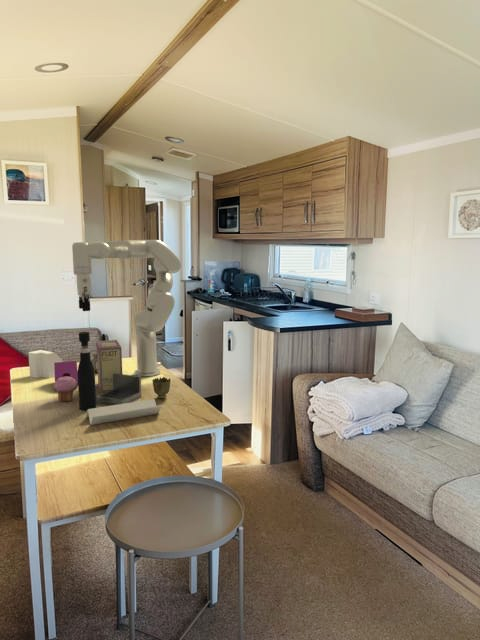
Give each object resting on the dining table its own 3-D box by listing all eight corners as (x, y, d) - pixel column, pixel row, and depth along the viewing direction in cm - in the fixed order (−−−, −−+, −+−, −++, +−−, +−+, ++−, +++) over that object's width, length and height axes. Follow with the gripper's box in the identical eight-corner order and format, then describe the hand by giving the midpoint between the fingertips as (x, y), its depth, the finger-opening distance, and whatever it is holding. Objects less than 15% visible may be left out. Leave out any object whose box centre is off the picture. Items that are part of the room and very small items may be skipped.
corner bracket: (30, 376, 235) (28, 352, 233) (50, 371, 244) (49, 348, 242) (43, 379, 229) (41, 355, 227) (63, 374, 238) (62, 350, 236)
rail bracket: (115, 393, 206) (114, 373, 205) (141, 397, 202) (140, 376, 200) (95, 402, 194) (94, 381, 193) (122, 406, 190) (121, 384, 188)
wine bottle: (80, 412, 184) (76, 334, 179) (78, 407, 189) (73, 332, 185) (98, 409, 187) (94, 333, 182) (94, 404, 192) (91, 330, 188)
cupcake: (52, 404, 193) (51, 379, 192) (57, 397, 202) (56, 374, 200) (75, 403, 194) (74, 378, 193) (79, 396, 203) (78, 373, 201)
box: (98, 384, 221) (96, 341, 218) (118, 382, 224) (116, 339, 221) (101, 394, 206) (99, 348, 203) (123, 392, 209) (121, 346, 206)
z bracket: (88, 432, 175) (85, 417, 178) (155, 420, 187) (151, 406, 190) (92, 417, 166) (89, 401, 170) (161, 405, 178) (157, 391, 181)
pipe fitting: (111, 371, 242) (108, 351, 241) (95, 374, 238) (92, 354, 237) (104, 368, 252) (101, 349, 251) (89, 372, 248) (86, 352, 247)
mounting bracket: (79, 402, 215) (77, 375, 229) (78, 387, 210) (76, 360, 225) (56, 404, 212) (55, 377, 226) (55, 389, 207) (54, 362, 221)
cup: (174, 397, 201) (174, 379, 200) (160, 401, 196) (159, 382, 194) (163, 394, 206) (162, 375, 205) (149, 398, 201) (148, 379, 199)
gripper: (94, 271, 205) (96, 311, 208) (88, 269, 220) (90, 307, 223) (76, 272, 202) (78, 312, 204) (70, 270, 217) (73, 307, 220)
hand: (84, 309), depth 214 cm, fingers open, 9 cm apart
